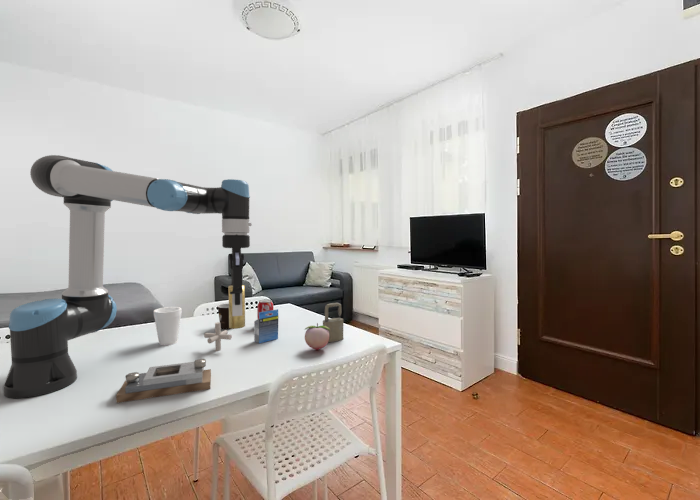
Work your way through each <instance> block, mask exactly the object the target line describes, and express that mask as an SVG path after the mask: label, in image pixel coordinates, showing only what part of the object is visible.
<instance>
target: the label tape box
mask: <svg viewBox="0 0 700 500" xmlns="http://www.w3.org/2000/svg"><path fill="white" fill-rule="evenodd" d="M268 313H270V314H271V313H272V315H268V316H266V314H268ZM253 324H254V326H253V328H254V329H253V331H254V332H253V335H254V337H253V338H254V340H253V341H254V342H255V343H257V344H263V343H266V342H269V341H274V340H278V339H279V309H278V308H277V309H273V310H271V311H265V312H259V319H258V320H257V319H256V320H254V323H253Z"/></svg>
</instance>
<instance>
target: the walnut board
mask: <svg viewBox="0 0 700 500" xmlns="http://www.w3.org/2000/svg"><path fill="white" fill-rule="evenodd" d="M211 379H212V370H211V368H209V369H204V371H203V381H202V383H196V384H189V385H182V386H175V387H168V388H162V389H155V390H148V391H141V392H134V393H127V394H126V391H125V388H126V386H127V384H128V383H126V379H125V380H124V382H123V383H122V385H121V387H120V388H119V390H118V392H117V394H116V395H115V396H116V398H115V399H116V400H115V402H116V404H119V403H124V402H125V403H126V402H132V401H139V400H140V401H141V400H145V399H152V398H153V399H154V398H159V397H164V396H172V395H177V394H186V393H191V392H197V391H204V390H205V391H206V390H211V381H212V380H211Z"/></svg>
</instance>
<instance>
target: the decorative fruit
mask: <svg viewBox="0 0 700 500" xmlns="http://www.w3.org/2000/svg"><path fill="white" fill-rule="evenodd" d="M327 329H329V328H328V327H326V326H323V325H319V324H318V322H317V323H316V325H309V326H307V327H305V328H304V329H303V330H304V331H305V330H306V331H305V333H304V341H305V343H306V345H307V346H308V347H309V348H311V349H313V350H316V351H318V350H321V349H322V348H323V349H324V347H326V346H327V345H328V344H329V342H328V341H329V331H328V330H327ZM329 330H330V329H329Z"/></svg>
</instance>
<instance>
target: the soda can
mask: <svg viewBox="0 0 700 500" xmlns="http://www.w3.org/2000/svg"><path fill="white" fill-rule="evenodd" d="M256 308H257V311H256V312H257V313H256V314H257V317H256V318H257V319H256V320H258V319H259V312H265V311H271V310H274V303H273V300H272V299H266V298H265V299H260V300H258V304H257V307H256ZM268 315H272V313H271V314H270V313H268V314H266V316H268Z"/></svg>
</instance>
